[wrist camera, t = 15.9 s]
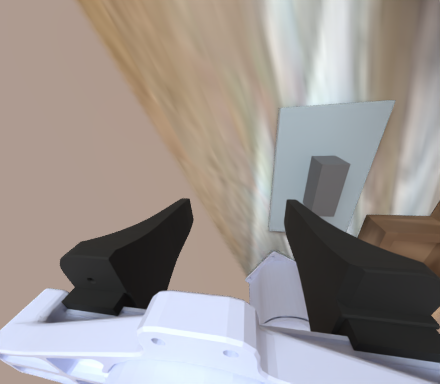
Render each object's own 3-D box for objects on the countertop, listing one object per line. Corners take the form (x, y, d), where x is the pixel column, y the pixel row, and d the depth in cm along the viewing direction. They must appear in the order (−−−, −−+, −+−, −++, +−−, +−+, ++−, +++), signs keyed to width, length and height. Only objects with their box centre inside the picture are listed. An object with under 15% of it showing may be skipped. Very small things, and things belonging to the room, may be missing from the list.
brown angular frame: (402, 293, 28) (427, 325, 24) (336, 287, 29) (350, 316, 25) (494, 166, 17) (567, 184, 13) (385, 168, 19) (421, 185, 15)
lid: (338, 225, 24) (358, 251, 20) (267, 223, 25) (271, 246, 21) (381, 100, 16) (427, 98, 12) (277, 107, 18) (286, 108, 14)
